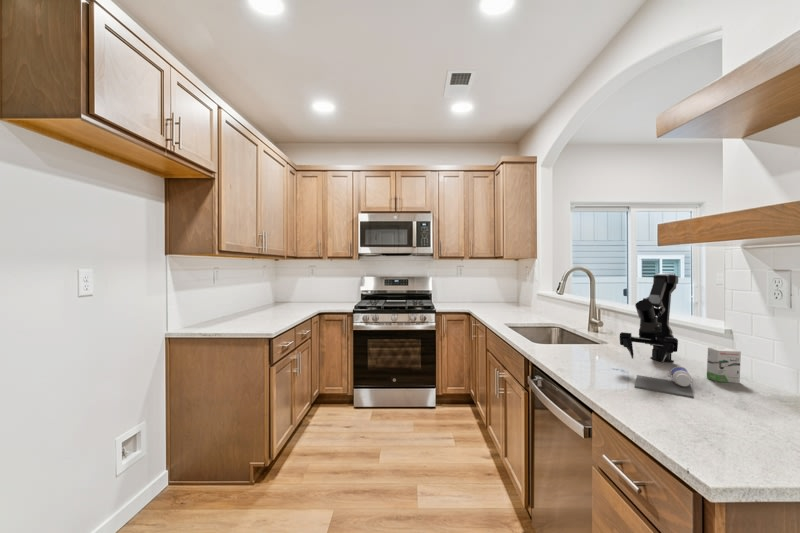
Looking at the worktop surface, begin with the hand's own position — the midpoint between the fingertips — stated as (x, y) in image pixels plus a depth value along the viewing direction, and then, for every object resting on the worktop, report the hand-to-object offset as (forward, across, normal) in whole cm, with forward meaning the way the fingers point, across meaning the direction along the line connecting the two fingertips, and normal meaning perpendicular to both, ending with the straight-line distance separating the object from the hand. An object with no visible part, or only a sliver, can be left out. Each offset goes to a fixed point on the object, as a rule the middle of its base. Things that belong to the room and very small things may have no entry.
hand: (646, 359), depth 138 cm
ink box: (-5, +24, +15) cm, 28 cm away
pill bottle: (+2, +10, +3) cm, 10 cm away
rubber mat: (+11, +5, -2) cm, 12 cm away
